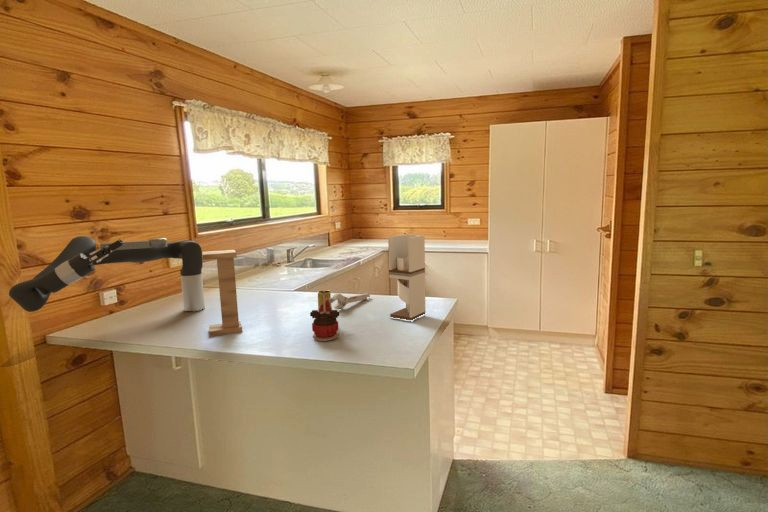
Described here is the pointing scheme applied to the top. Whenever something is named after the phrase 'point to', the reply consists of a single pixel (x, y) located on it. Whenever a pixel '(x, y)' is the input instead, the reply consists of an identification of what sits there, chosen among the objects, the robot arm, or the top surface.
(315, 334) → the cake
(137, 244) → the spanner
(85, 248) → the robot arm
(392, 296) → the top surface
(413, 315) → the beige cubby tower
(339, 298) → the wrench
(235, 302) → the shelf stand
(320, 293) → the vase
